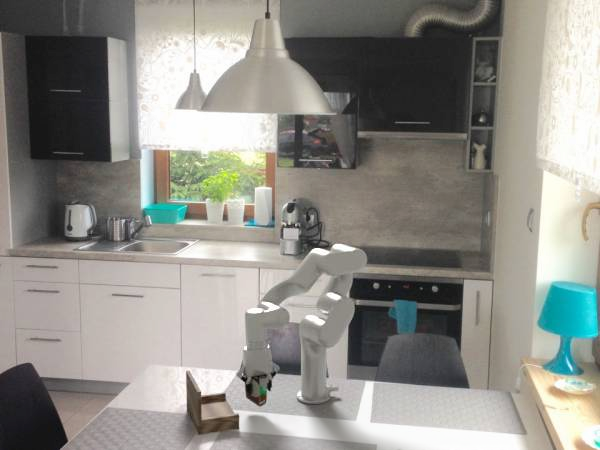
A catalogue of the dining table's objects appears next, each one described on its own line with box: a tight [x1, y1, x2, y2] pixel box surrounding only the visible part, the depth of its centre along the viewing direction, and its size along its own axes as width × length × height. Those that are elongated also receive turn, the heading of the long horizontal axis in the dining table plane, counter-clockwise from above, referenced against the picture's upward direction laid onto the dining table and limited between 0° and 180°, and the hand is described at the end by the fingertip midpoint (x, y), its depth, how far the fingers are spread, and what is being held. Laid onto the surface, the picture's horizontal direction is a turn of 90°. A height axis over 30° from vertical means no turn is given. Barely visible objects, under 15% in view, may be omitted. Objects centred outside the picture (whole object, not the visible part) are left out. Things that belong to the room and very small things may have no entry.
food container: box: [242, 372, 269, 408], centre depth 253 cm, size 12×6×10 cm, turn 34°
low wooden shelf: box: [185, 370, 240, 436], centre depth 247 cm, size 14×20×15 cm
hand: (259, 391), depth 253 cm, fingers closed on food container, 6 cm apart
